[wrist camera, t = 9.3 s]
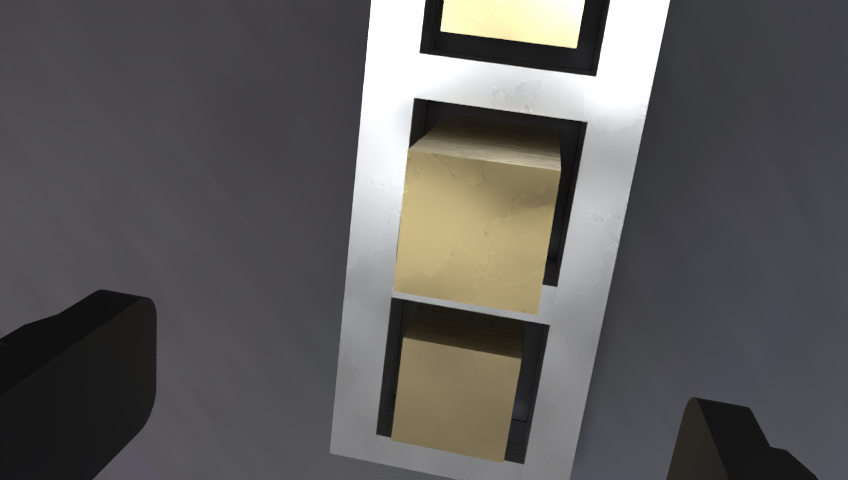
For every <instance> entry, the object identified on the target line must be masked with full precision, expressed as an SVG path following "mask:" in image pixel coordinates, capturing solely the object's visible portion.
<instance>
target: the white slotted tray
mask: <svg viewBox="0 0 848 480" xmlns="http://www.w3.org/2000/svg"><path fill="white" fill-rule="evenodd" d="M439 1H440V0H372V2H371V13H370V24H369V35H368V45H367V56H366V67H365V78H364V89H363V99H362V110H361V121H360V132H359V143H358V153H357V164H356V175H355V186H354V197H353V207H352V218H351V229H350V240H349V251H348V261H347V272H346V283H345V294H344V305H343V315H342V326H341V337H340V348H339V359H338V369H337V380H336V391H335V402H334V413H333V423H332V434H331V445H330V453H332V454H336V455H341V456H346V457H351V458H356V459H361V460H366V461H370V462H375V463H380V464H385V465H390V466H395V467H400V468H404V469H409V470H414V471H419V472H424V473H429V474H434V475H438V476H443V477H448V478H453V479H458V480H570V475H571V470H572V466H573V461H574V456H575V451H576V447H577V442H578V437H579V432H580V427H581V423H582V418H583V413H584V408H585V404H586V399H587V394H588V389H589V384H590V380H591V375H592V370H593V365H594V361H595V356H596V351H597V346H598V341H599V337H600V332H601V327H602V322H603V318H604V313H605V308H606V303H607V298H608V294H609V289H610V284H611V279H612V275H613V270H614V265H615V260H616V255H617V251H618V246H619V241H620V236H621V232H622V227H623V222H624V217H625V212H626V208H627V203H628V198H629V193H630V188H631V184H632V179H633V174H634V169H635V165H636V160H637V155H638V150H639V145H640V141H641V136H642V131H643V126H644V122H645V117H646V112H647V107H648V102H649V98H650V93H651V88H652V83H653V79H654V74H655V69H656V64H657V59H658V55H659V50H660V45H661V40H662V36H663V31H664V26H665V21H666V16H667V12H668V7H669V2H670V0H604V6H603V11H602V16H601V22H600V27H599V33H598V38H597V44H596V49H595V55H594V60H593V65H592V71H585V70H578V69H570V68H563V67H555V66H547V65H540V64H532V63H525V62H517V61H509V60H502V59H494V58H487V57H479V56H471V55H464V54H456V53H449V52H441V51H434V43H435V35H436V26H437V18H438V10H439ZM584 2H585V0H444V6H443V14H442V22H441V31H444V32H452V33H460V34H468V35H475V36H483V37H491V38H499V39H507V40H514V41H522V42H530V43H538V44H546V45H553V46H561V47H569V48H576V47H577V42H578V36H579V30H580V25H581V19H582V13H583V8H584ZM428 100H434V101H441V102H448V103H456V104H463V105H470V106H477V107H484V108H491V109H498V110H505V111H513V112H520V113H527V114H534V115H541V116H548V117H555V118H562V119H570V120H577V121H582V125H581V131H580V136H579V142H578V147H577V153H576V158H575V163H574V169H573V174H572V180H571V185H570V191H569V196H568V202H567V207H566V213H565V218H564V223H563V229H562V234H561V240H560V245H559V251H558V256H557V260H553V259H546V265H545V271H544V277H543V283H542V289H541V295H540V301H539V307H538V313H537V315H534V314H528V313H522V312H515V311H509V310H503V309H497V308H491V307H485V306H479V305H473V304H466V303H460V302H454V301H448V300H442V299H436V298H430V297H424V296H417V295H411V294H405V293H399V292H393V291H394V281H395V271H396V261H397V251H398V241H399V231H400V221H401V211H402V201H403V191H404V182H405V172H406V162H407V152H408V149H409V148H410V147H412V146H413V145H414V144H415V143H416V142H418V141H419V140H420V139H421V138H422V137H423V136H424V127H425V119H426V110H427V102H428ZM404 299H406V300H411V301H417V302H420V304H419V306H418V308H417V310H416V312H415V314H414V317H413V319H412V321H411V323H410V325H409V327H408V329H407V331H406V333H405V335H404V337H403V345H402V353H401V361H400V370H399V378H398V386H397V394H396V397H393V387H394V379H395V370H396V362H397V354H398V345H399V337H400V328H401V320H402V312H403V303H404ZM525 321H531V322H536V323H542V324H545V327H544V332H543V338H542V343H541V349H540V354H539V360H538V365H537V370H536V376H535V381H534V387H533V392H532V398H531V403H530V409H529V414H528V419H527V422H522V421H517V420H512V419H511V417H512V411H513V405H514V400H515V394H516V388H517V383H518V377H519V371H520V366H521V360H522V350H523V339H524V329H525Z"/></svg>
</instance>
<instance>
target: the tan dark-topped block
mask: <svg viewBox="0 0 848 480" xmlns="http://www.w3.org/2000/svg"><path fill="white" fill-rule="evenodd" d="M560 174H561V160H560V141H559V129H553V128H545V127H538V126H530V125H522V124H515V123H507V122H499V121H491V120H484V119H476V118H468V117H461V116H453V115H448V116H447V117H446V118H445V119H444V120H443V121H441V122H440V123H439V124H438V125H437V126H435V127H434V128H433V129H432V130H431V131H429V132H428V133H427V134H426V135H425V136H424V137H422V138H421V139H420V140H419V141H418V142H416V143H415V144H414V145H413V146H412V147H410V148H409V149H408V152H407V162H406V172H405V182H404V191H403V201H402V211H401V221H400V231H399V241H398V251H397V261H396V271H395V281H394V291H393V292H399V293H405V294H411V295H417V296H424V297H430V298H436V299H442V300H448V301H454V302H460V303H466V304H473V305H479V306H485V307H491V308H497V309H503V310H509V311H515V312H522V313H528V314H534V315H537V313H538V307H539V301H540V295H541V289H542V283H543V277H544V271H545V265H546V259H547V253H548V247H549V241H550V235H551V229H552V223H553V217H554V210H555V204H556V198H557V192H558V186H559V180H560Z"/></svg>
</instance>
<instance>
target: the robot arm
mask: <svg viewBox="0 0 848 480" xmlns="http://www.w3.org/2000/svg"><path fill="white" fill-rule="evenodd" d="M156 332H157V316H156V308H155V305H154V303H153V301H152V300H151V299H150V298H147V297H142V296H136V295H131V294H125V293H120V292H114V291H109V290H98V291H96V292H94V293H92V294H91V295H89V296H87V297H86V298H84V299H82V300H81V301H79V302H77V303H76V304H74V305H73V306H71V307H69V308H68V309H66V310H64V311H63V312H61V313H59V314H57V315H54V316H51V317H48V318H45V319H41V320H38V321H35V322H32V323H29V324H25V325H23V326H22V327H20V328H18V329H16V330H15V331H13V332H11V333H10V334H8V335H6V336H5V337H3V338H1V339H0V480H92V479H93V478H94V477H95V476H96V475H97V474H98V473H99V472H100V471H101V470H102V469H103V468H104V467H105V466H106V465H107V464H108V463H109V462H110V461H111V460H112V459H113V458H114V457H115V456H116V455H117V454H118V453H119V452H120V451H121V450H122V449H123V448H124V447H125V446H126V445H127V444H128V443H129V442H130V441H131V440H132V439H133V438H134V437H135V436H136V435H137V434H138V433H139V432H140V431H141V429H142V428H143V427H144V425H145V424H146V422H147V420H148V418H149V416H150V414H151V411H152V408H153V405H154V401H155V395H156ZM666 480H818V479H817V477H816V476H815V475H814V474H813V473H812V472H811V471H809V470H808V469H807V468H806V467H805V466H804V465H803V464H801V463H800V462H799V461H798V460H797V459H796V458H795V457H793V456H792V455H791V454H790V453H789V452H788V451H787V450H783V449H778V448H773V447H770V445H769V443H768V441H767V440H766V438H765V436H764V434H763V432H762V430H761V428H760V426H759V424H758V422H757V420H756V418H755V417H754V415H753V413H752V411H751V410H750V408H748V407H745V406H739V405H733V404H728V403H722V402H717V401H711V400H706V399H700V398H695V397H693V398H691V399H690V400H689V402H688V403H687V406H686V408H685V411H684V414H683V418H682V422H681V426H680V429H679V433H678V437H677V441H676V445H675V449H674V452H673V456H672V460H671V464H670V468H669V472H668V476H667V479H666Z"/></svg>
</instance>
